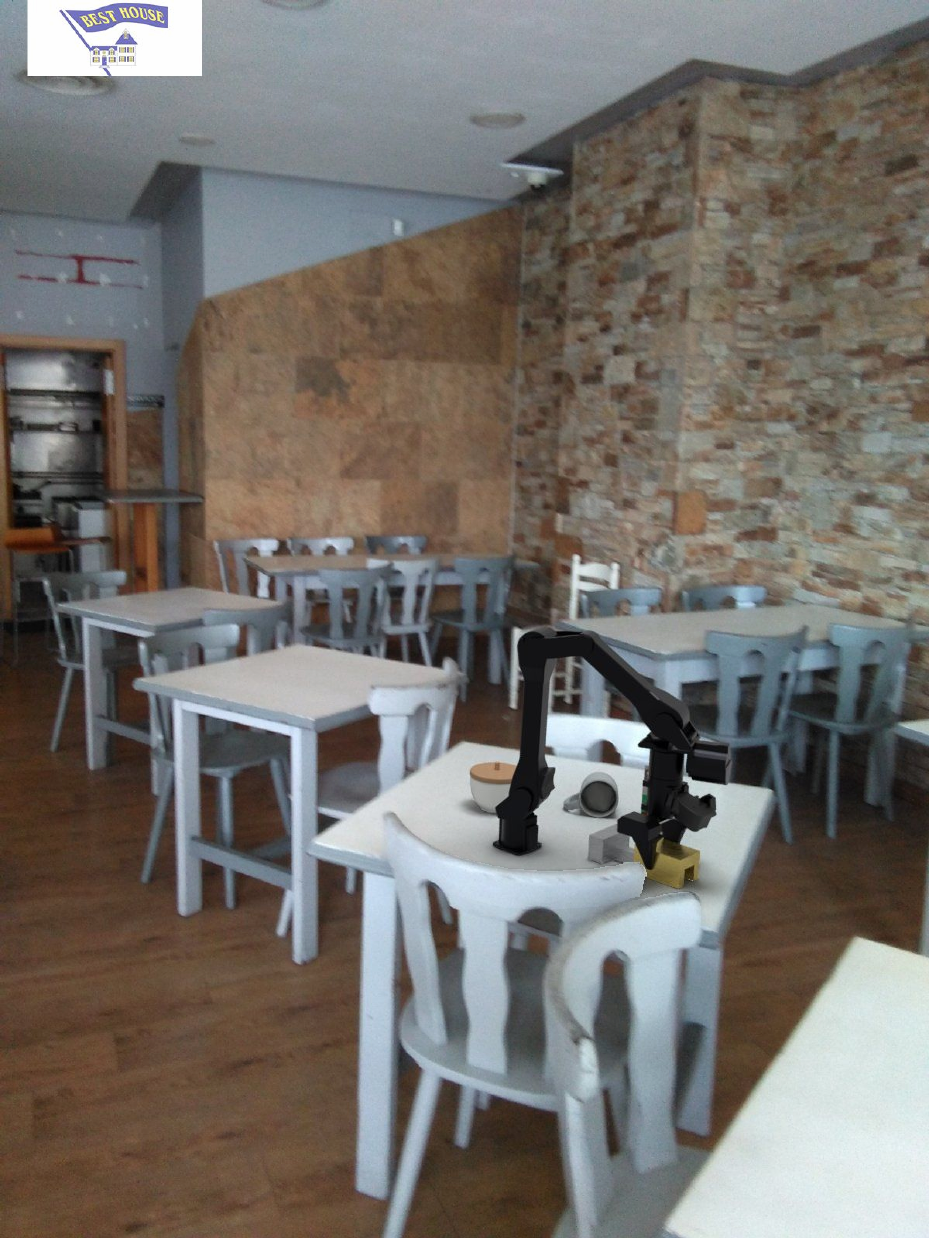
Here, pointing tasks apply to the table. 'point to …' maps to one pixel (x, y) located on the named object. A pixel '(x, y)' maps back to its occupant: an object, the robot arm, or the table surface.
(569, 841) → the table surface
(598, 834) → the rail
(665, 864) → the block
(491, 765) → the lidded jar
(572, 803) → the ceramic mug
